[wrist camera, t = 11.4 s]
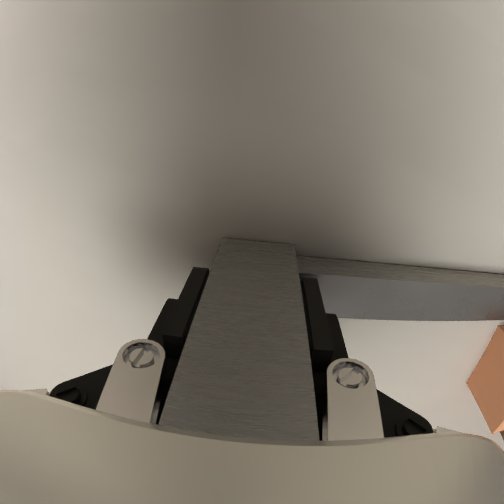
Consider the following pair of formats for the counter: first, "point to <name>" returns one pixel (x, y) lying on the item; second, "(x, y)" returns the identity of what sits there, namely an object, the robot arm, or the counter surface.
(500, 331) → the cube
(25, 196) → the counter surface
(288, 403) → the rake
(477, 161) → the counter surface
